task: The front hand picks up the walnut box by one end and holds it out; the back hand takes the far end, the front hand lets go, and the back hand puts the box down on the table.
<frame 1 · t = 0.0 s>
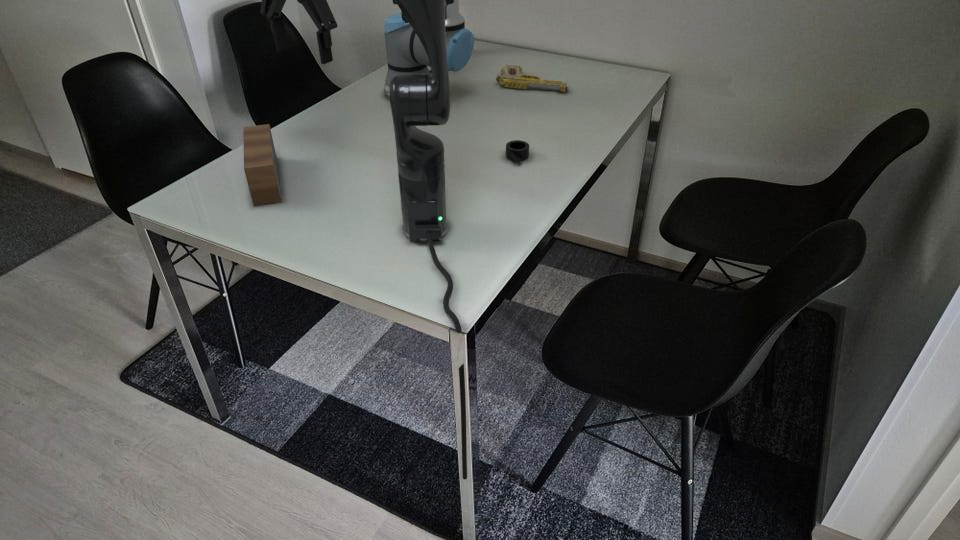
front hand: (424, 22, 150), 29 cm above the table, tool pointing down, fingers open, 8 cm apart
back hand: (304, 56, 135), 28 cm above the table, tool pointing down, fingers open, 13 cm apart
handgun: (533, 82, 197), on the table
box: (266, 181, 149), on the table
spray paint can: (441, 55, 217), on the table
duct tape: (517, 156, 158), on the table
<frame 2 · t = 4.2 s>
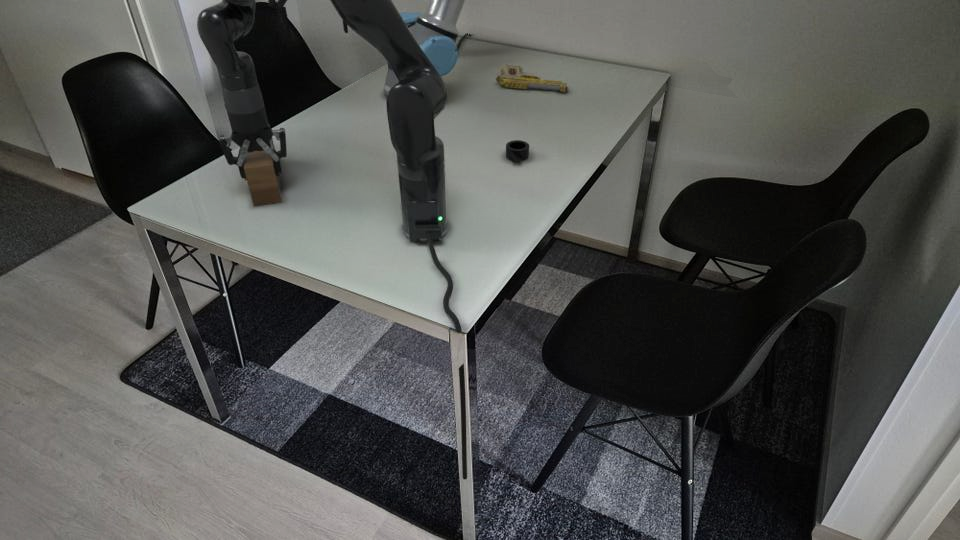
front hand: (262, 176, 140), 5 cm above the table, tool pointing down, fingers closed on box, 6 cm apart
back hand: (317, 34, 153), 26 cm above the table, tool pointing down, fingers open, 13 cm apart
box: (266, 181, 149), on the table, touching front hand
everything else where it was.
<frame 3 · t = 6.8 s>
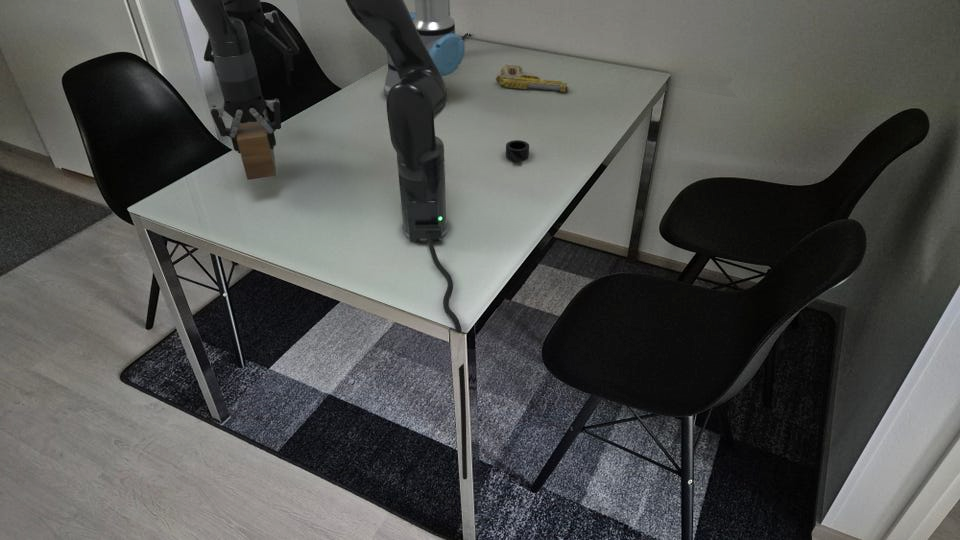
front hand: (256, 149, 136), 12 cm above the table, tool pointing down, fingers closed on box, 6 cm apart
back hand: (259, 87, 145), 19 cm above the table, tool pointing down, fingers open, 13 cm apart
box: (260, 156, 144), point 7 cm above the table, touching front hand
everything else where it was.
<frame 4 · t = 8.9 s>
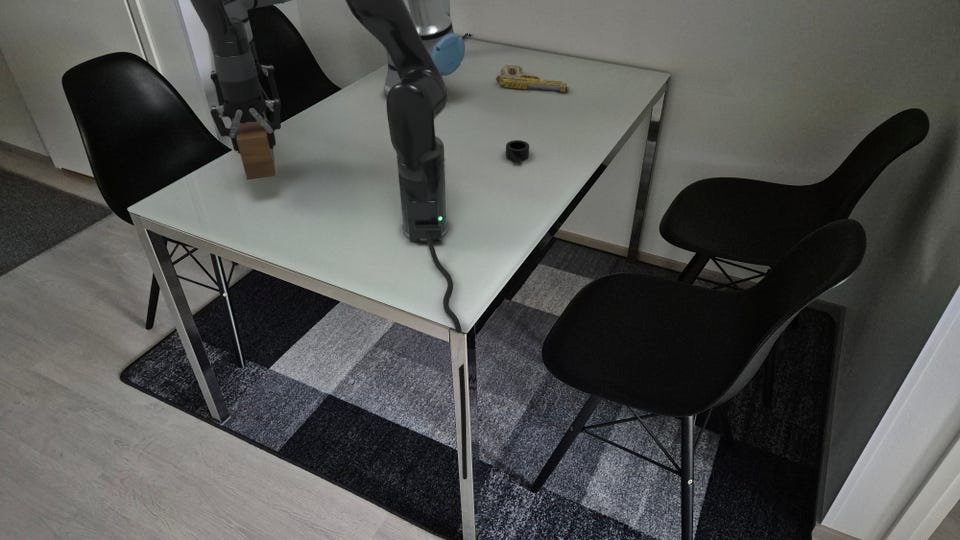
front hand: (255, 149, 136), 12 cm above the table, tool pointing down, fingers closed on box, 6 cm apart
back hand: (258, 140, 149), 7 cm above the table, tool pointing down, fingers closed on box, 6 cm apart
box: (260, 156, 144), point 7 cm above the table, touching front hand, back hand
everything else where it was.
when the front hand's fingers open (12 cm above the table, at t = 9.9 s): box moves 1 cm, held by the back hand.
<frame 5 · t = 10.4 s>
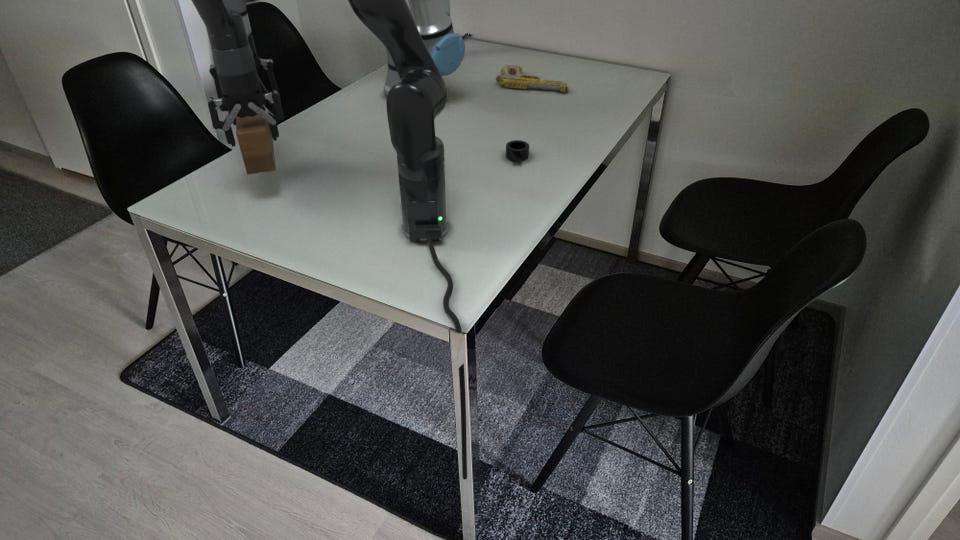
front hand: (254, 142, 134), 14 cm above the table, tool pointing down, fingers open, 8 cm apart
back hand: (258, 134, 149), 9 cm above the table, tool pointing down, fingers closed on box, 6 cm apart
box: (260, 150, 144), point 8 cm above the table, touching back hand
everything else where it was.
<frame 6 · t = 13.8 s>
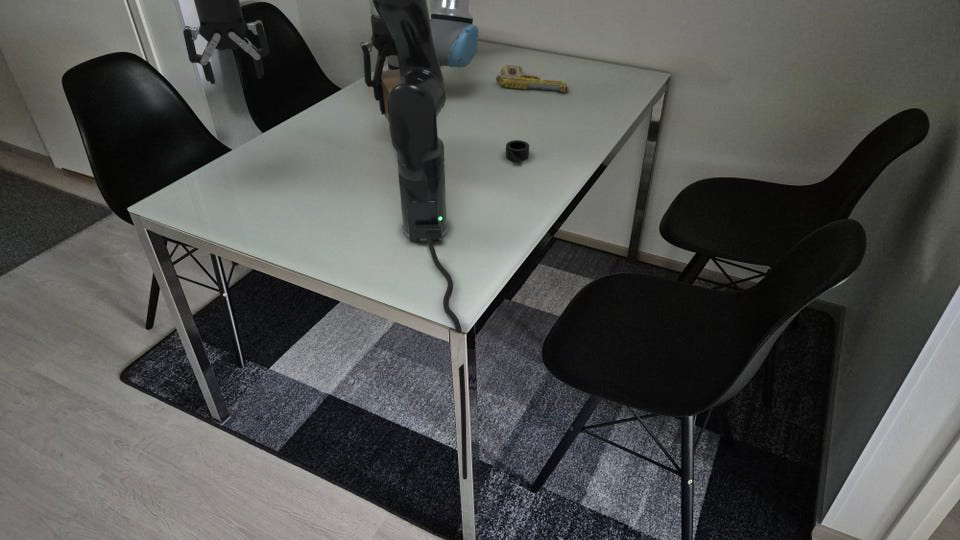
front hand: (236, 80, 121), 29 cm above the table, tool pointing down, fingers open, 8 cm apart
back hand: (396, 109, 156), 10 cm above the table, tool pointing down, fingers closed on box, 6 cm apart
box: (402, 124, 152), point 9 cm above the table, touching back hand
everything else where it was.
when the back hand's fingers open (2 cm above the table, at t = 18.6 s): box drops 2 cm, on the table.
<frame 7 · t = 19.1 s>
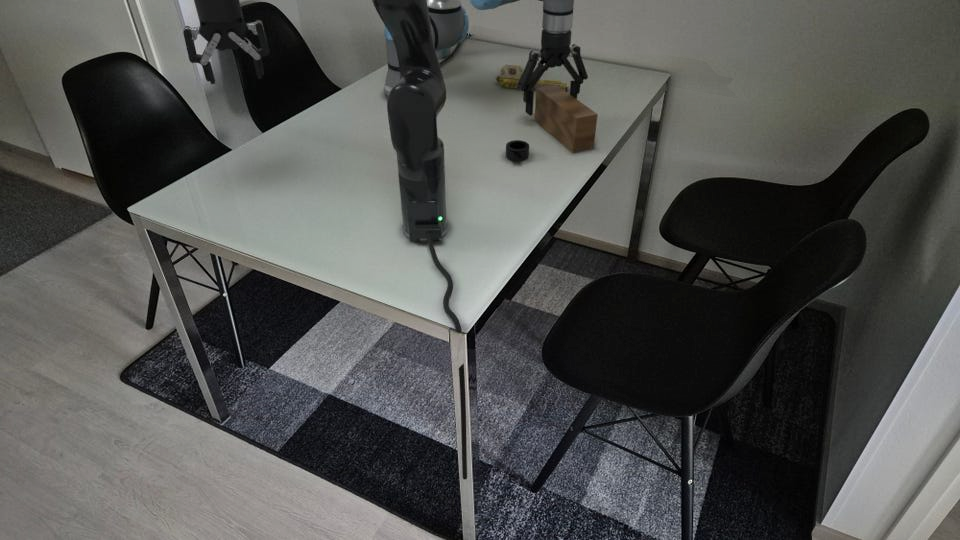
front hand: (236, 80, 121), 29 cm above the table, tool pointing down, fingers open, 8 cm apart
back hand: (550, 109, 171), 4 cm above the table, tool pointing down, fingers open, 13 cm apart
box: (562, 134, 168), on the table
everything else where it was.
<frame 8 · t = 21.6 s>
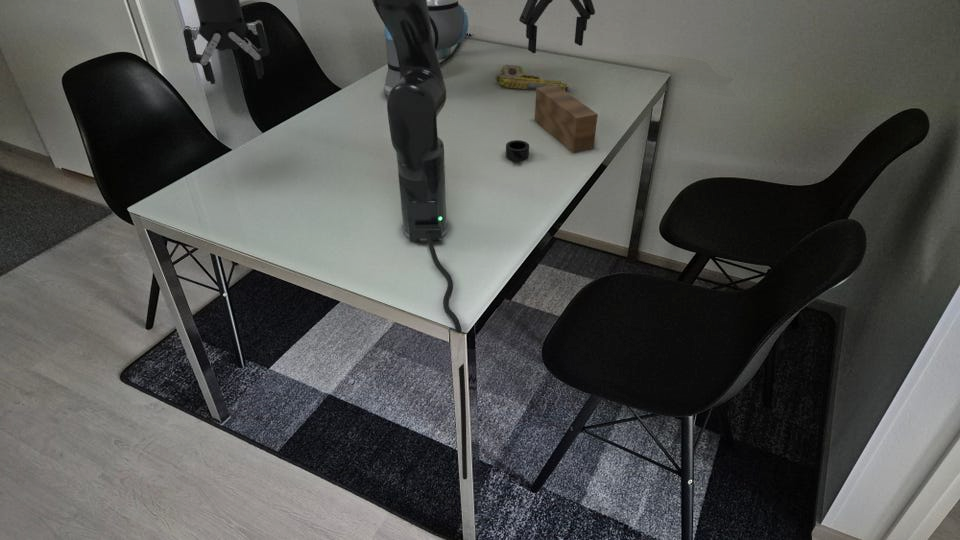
front hand: (236, 80, 121), 29 cm above the table, tool pointing down, fingers open, 8 cm apart
back hand: (555, 47, 161), 21 cm above the table, tool pointing down, fingers open, 13 cm apart
nothing on the table moved.
at the end: box inside the target area (7.1 cm from its centre), on the table; the front hand is holding nothing; the back hand is holding nothing; box at rest at the end (0.0 cm/s) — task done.
